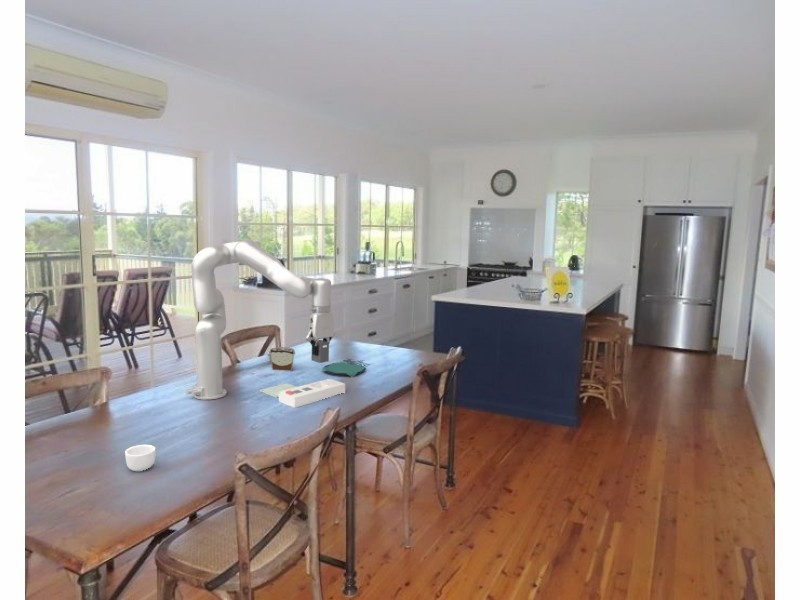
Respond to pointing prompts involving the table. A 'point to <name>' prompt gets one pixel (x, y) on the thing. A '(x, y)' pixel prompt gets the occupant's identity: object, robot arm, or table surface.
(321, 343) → the block
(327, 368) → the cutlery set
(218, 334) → the robot arm
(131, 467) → the teacup
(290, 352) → the food container
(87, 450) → the table surface
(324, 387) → the power strip
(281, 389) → the mat
